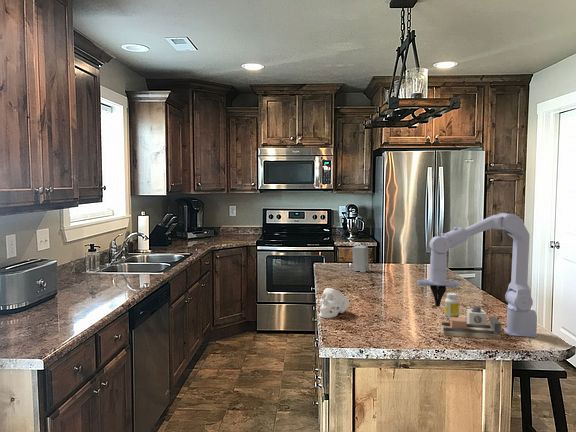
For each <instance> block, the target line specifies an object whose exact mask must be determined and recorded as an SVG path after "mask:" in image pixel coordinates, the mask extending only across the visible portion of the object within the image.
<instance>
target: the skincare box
mask: <svg viewBox="0 0 576 432" xmlns="http://www.w3.org/2000/svg"><path fill="white" fill-rule="evenodd" d="M351 249H352V252H351V253H352V272H353V271H360V272H359V273H367V272H369V271H368V270H370V269H369V268H370V267H369V246H367V245H365V246H364V245H355V246H352V248H351ZM366 271H367V272H366Z"/></svg>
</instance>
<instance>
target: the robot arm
mask: <svg viewBox="0 0 576 432" xmlns="http://www.w3.org/2000/svg"><path fill="white" fill-rule="evenodd" d="M524 223H525V222H524V219H523V218H521V217H520V216H518V215H517V214H515V213H508V212H499V213H497V214H493V215H490V216H488V217H487V218H484V219H482V220H480V221H478V222H475V223H474V224H472V225H469V226H467V227H466V228H463V227H460V226H458V227H456V226H455V227H453V228H452V230H450V231H448V232H445V233H444V232H442V233H440V236H438V235H436V236H434V237H432V238H431V239H430V241H429V242H428V246H429V248H430V263H429V268H430V270H429V271H430V273H429V274H430V275H429V277H430V278H429V279H417V281H416V282H417V284H416V285H417V287H422V286H423V287H430V290H431V292H432V294H433V299H434V303H435V305H434V306H435V307H437V308H440V307H441V302H442V299H443V297H444V295H445V293H446V292H447V288H456V289H459V288H460V281H456V280H455V281H453V280H447V277H448V276H447V271H448V270H447V268H448V267H447V266H448V264H447V263H448V261H447V260H448V256H447V255H448V253H447V252H448V251H449V250H450V249H453V248H455V247H457V246H459V245H461V244H464V243H466V242H467V241H468V240H469V238H470V237H473V236H475V235H476V234H479V233H482V232H485V231H487V230H492V229H493V230H500V231H503V232H505V233H506V234H507V235H508V236H509V237H511V238H512V254H511V255H512V257H511V258H512V259H511V279H510V283H508V287H507V291H506V292H505V295H504V297H505V298H504V299H505V301H506V303H507V307H506V309H507V310H506V311H507V312H506V327H503V331H505V333H506V334H507V335H508V336H511V337H527V338H537V337H538V335H537V329H538V328H537V327H538V326H537V325H538V315H537V312H536V310H534V309H531V308H532V306H533V303H534V299H533V298H532V294H531V288H530V287H529V285H528V278H529V277H528V275H529V261H530V260H529V259H530V258H529V257H530V256H529V255H530V254H529V253H530V233H529V231H528V229H527V227H526V226H525V224H524Z"/></svg>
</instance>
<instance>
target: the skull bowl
mask: <svg viewBox="0 0 576 432" xmlns="http://www.w3.org/2000/svg"><path fill="white" fill-rule="evenodd" d="M318 303H319V305H321V306H320V307H319V310H320V312H319V314H318V317H319V318H324V319H332V318H335V317H337V316H338V314H339V313H340V314H343V313H344V312H346V310H348V307H349V305H350V301H349V299H348V297H346V296H345V295H344V294H343V293H341V291H339V290H338V289H335V288H330V287H326V288H325V289H324V290H323V293H322V294H321V296H320V299H319V302H318Z"/></svg>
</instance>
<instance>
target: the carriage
mask: <svg viewBox="0 0 576 432" xmlns="http://www.w3.org/2000/svg"><path fill="white" fill-rule="evenodd" d="M449 320H450V321H449V322H450V326H451V328H462V329H467V318H465V317H450V319H449Z"/></svg>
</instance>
